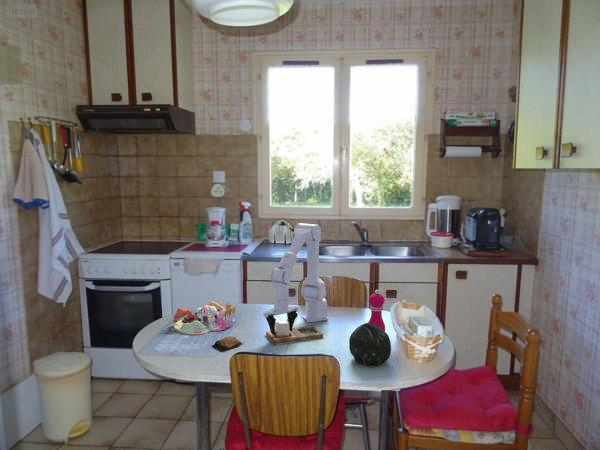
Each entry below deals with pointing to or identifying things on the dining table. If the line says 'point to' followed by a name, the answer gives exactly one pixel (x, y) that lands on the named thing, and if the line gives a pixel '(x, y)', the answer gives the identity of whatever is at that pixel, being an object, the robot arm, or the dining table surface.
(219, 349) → the bread roll
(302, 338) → the wooden board with holes
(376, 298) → the pepper mill
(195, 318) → the candy landscape model
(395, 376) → the dining table surface
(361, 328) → the squash
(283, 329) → the light grey block
